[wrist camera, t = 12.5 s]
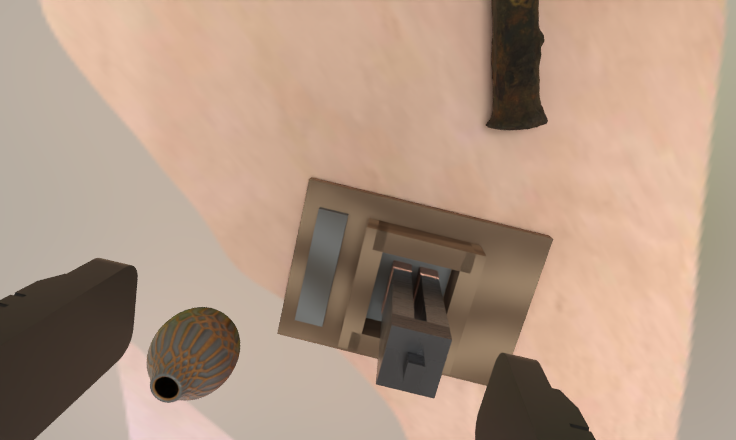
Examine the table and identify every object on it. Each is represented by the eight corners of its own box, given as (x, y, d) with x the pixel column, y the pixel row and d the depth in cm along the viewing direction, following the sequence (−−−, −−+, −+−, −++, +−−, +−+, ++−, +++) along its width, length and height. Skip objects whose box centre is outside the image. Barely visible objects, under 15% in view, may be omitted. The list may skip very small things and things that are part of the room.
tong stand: (311, 177, 39) (301, 185, 35) (549, 235, 38) (565, 250, 35) (280, 328, 42) (268, 351, 38) (498, 382, 42) (508, 410, 38)
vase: (159, 331, 43) (101, 387, 34) (206, 281, 41) (156, 327, 33) (217, 379, 44) (173, 446, 35) (265, 332, 42) (231, 389, 34)
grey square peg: (393, 260, 38) (390, 334, 26) (437, 270, 38) (455, 349, 26) (382, 304, 40) (373, 396, 27) (424, 315, 39) (436, 412, 27)
